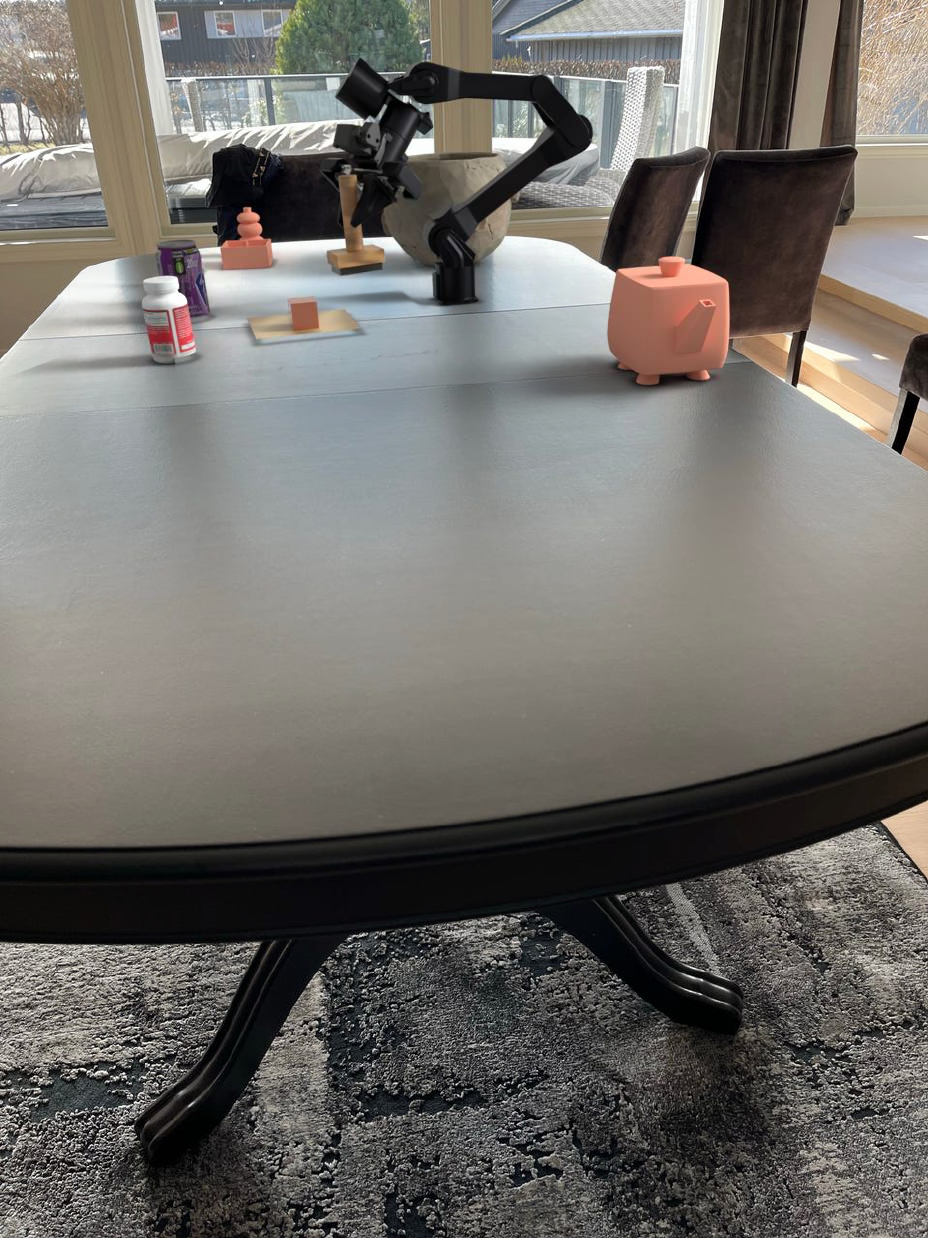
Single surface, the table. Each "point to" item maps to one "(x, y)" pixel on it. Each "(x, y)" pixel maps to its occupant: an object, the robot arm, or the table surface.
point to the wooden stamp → (353, 237)
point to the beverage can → (185, 272)
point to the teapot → (669, 320)
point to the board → (282, 327)
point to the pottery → (247, 245)
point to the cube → (303, 313)
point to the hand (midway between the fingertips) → (345, 224)
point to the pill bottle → (167, 319)
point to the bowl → (440, 182)
